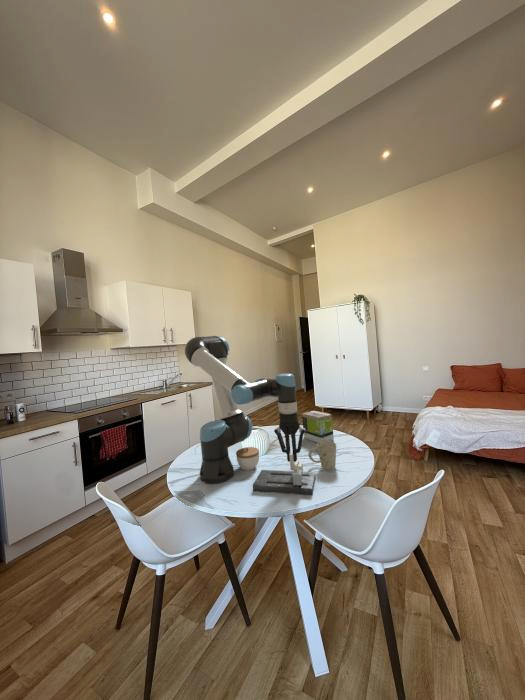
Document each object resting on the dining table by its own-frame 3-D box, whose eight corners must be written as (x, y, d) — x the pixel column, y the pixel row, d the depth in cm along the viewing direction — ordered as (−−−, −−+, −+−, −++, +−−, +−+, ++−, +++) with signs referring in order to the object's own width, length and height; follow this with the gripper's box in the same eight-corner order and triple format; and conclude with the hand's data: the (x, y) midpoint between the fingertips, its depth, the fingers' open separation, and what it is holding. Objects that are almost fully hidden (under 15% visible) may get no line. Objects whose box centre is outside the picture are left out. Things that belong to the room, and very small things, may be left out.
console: (253, 491, 109) (252, 484, 109) (262, 475, 122) (261, 469, 121) (312, 495, 103) (311, 488, 103) (315, 478, 115) (315, 471, 115)
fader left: (294, 475, 112) (293, 465, 112) (295, 471, 116) (295, 461, 116) (301, 476, 112) (300, 466, 112) (303, 471, 115) (302, 461, 115)
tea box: (334, 440, 156) (332, 413, 156) (321, 444, 151) (319, 417, 151) (315, 433, 169) (314, 409, 169) (303, 438, 164) (301, 413, 163)
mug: (338, 471, 120) (336, 447, 120) (309, 470, 122) (307, 448, 122) (337, 462, 128) (335, 440, 128) (309, 462, 130) (307, 441, 130)
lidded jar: (240, 475, 124) (238, 454, 124) (235, 465, 134) (233, 446, 134) (263, 469, 127) (261, 449, 127) (256, 461, 137) (255, 442, 137)
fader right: (293, 484, 106) (292, 474, 105) (295, 479, 109) (294, 469, 109) (301, 485, 105) (300, 474, 105) (302, 480, 109) (301, 469, 108)
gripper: (270, 414, 112) (275, 472, 113) (302, 414, 109) (307, 474, 109) (274, 409, 119) (279, 464, 120) (305, 409, 116) (310, 465, 116)
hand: (293, 468), depth 115 cm, fingers closed
